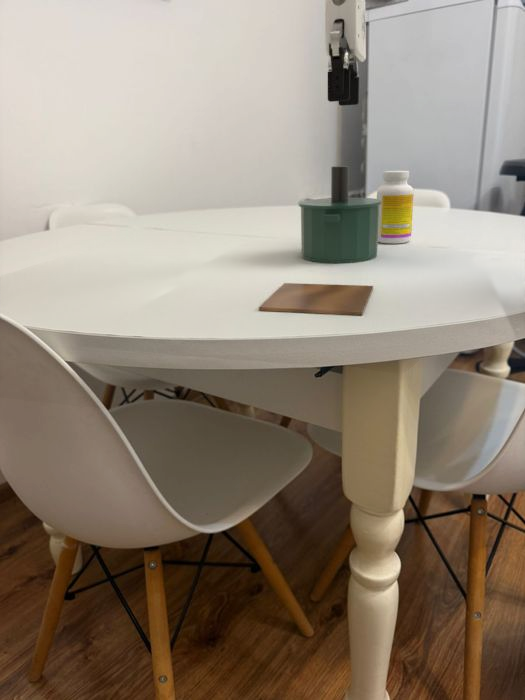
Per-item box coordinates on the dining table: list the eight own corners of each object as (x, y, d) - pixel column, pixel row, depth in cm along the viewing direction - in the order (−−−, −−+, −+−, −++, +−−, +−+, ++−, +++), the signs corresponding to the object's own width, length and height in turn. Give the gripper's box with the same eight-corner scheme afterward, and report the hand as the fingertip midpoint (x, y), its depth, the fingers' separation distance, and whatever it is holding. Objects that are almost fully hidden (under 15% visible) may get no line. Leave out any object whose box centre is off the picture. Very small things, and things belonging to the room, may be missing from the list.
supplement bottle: (417, 242, 101) (421, 170, 96) (385, 245, 99) (388, 172, 95) (400, 237, 107) (403, 169, 102) (369, 240, 105) (371, 171, 101)
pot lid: (384, 203, 93) (386, 163, 91) (377, 212, 81) (378, 166, 79) (308, 204, 97) (307, 166, 95) (290, 213, 85) (289, 169, 83)
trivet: (373, 288, 70) (373, 285, 70) (362, 315, 59) (362, 311, 59) (284, 285, 73) (284, 282, 73) (258, 310, 63) (258, 307, 63)
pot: (381, 246, 98) (383, 198, 95) (370, 267, 82) (372, 210, 79) (313, 246, 102) (313, 199, 99) (290, 265, 86) (289, 211, 83)
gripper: (363, -50, 69) (360, 97, 75) (377, -15, 84) (374, 104, 90) (306, -41, 71) (308, 101, 77) (330, -9, 87) (330, 107, 93)
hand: (343, 103), depth 84 cm, fingers open, 9 cm apart
